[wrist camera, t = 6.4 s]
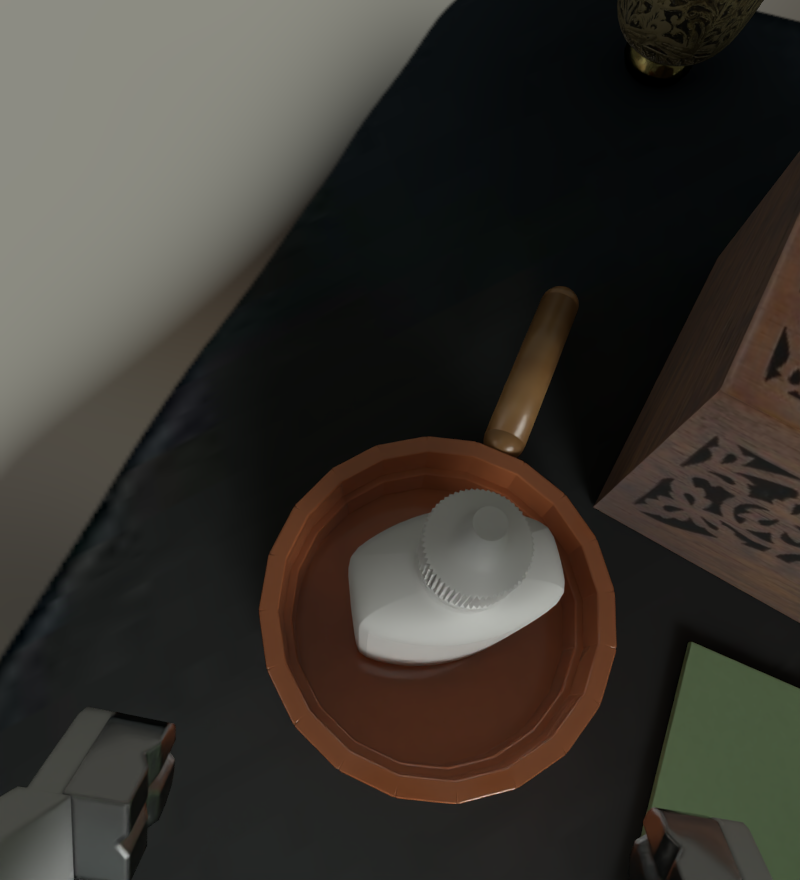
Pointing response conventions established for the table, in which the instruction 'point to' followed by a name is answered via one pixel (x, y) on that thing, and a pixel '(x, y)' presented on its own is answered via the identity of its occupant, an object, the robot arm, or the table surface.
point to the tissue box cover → (729, 418)
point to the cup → (677, 34)
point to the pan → (444, 685)
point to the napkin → (735, 754)
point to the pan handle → (532, 372)
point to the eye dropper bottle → (452, 581)
